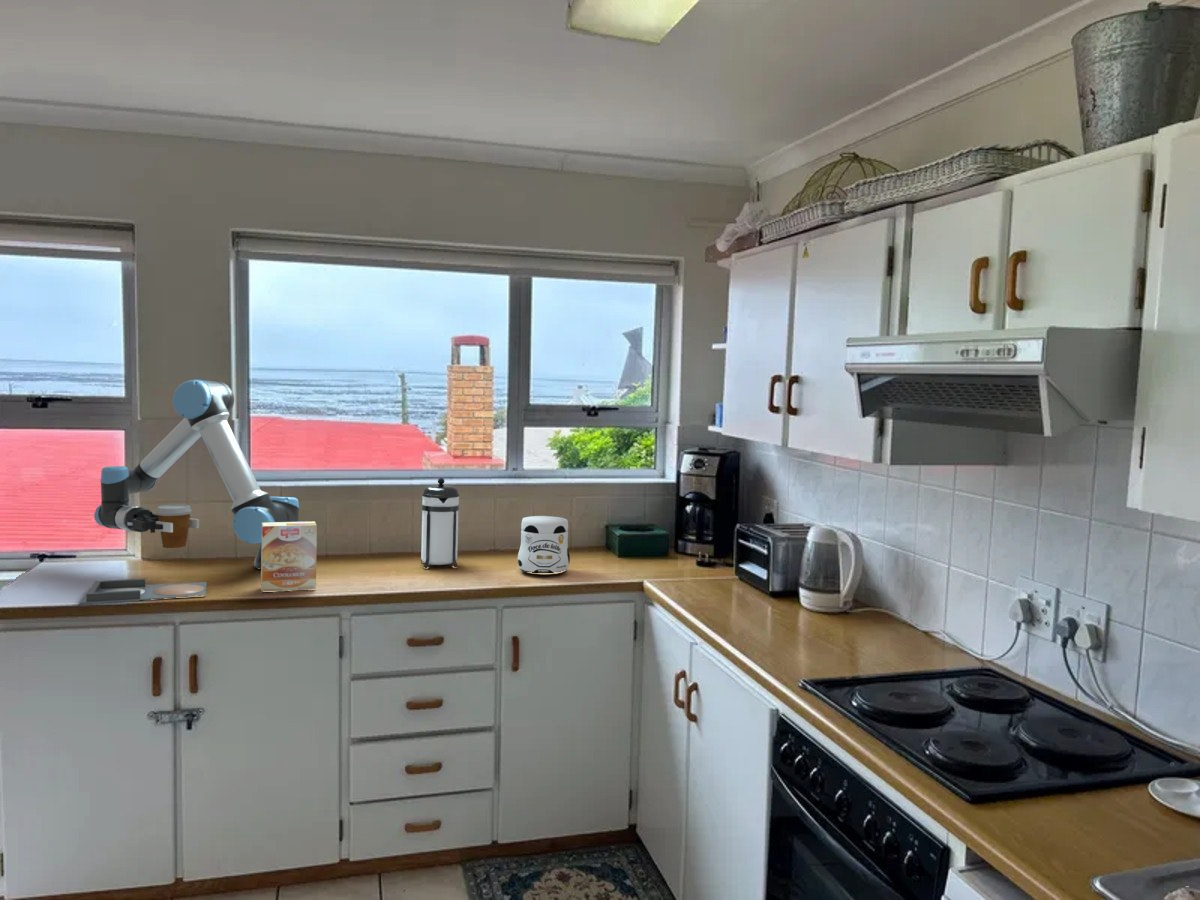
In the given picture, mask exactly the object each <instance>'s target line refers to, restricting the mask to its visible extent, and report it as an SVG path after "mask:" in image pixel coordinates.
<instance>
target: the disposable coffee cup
mask: <svg viewBox="0 0 1200 900" xmlns="http://www.w3.org/2000/svg"><path fill="white" fill-rule="evenodd" d="M192 511H193V510H192V509H191V505H189V504H166V505H160V506H157V510H156V514H157V515H158V518H159V521H161V522H169V523H173V532H171V533H170V532H163V531H160V537H161V542H162V543H161V545H162V548H165V549H179V548H180V549H181V548H184V547H186V546H187V541H188V534H189V519H190V517H191V513H192Z"/></svg>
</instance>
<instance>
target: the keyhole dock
mask: <svg viewBox="0 0 1200 900" xmlns="http://www.w3.org/2000/svg"><path fill="white" fill-rule="evenodd" d="M146 581H147V579H146V578H128V579H108V580H106V579H105V580H95V581H94V582H93V583H92V585H91V587H89V588H88V589H87V591H86V592H85V594H83V597H82V598H81V599H80V601H79V606H82V605H95V604H96V605H97V603H101V604H111V603H110V602H118V603H125V602H124V601H135V602H139V601H138V600H151V599H164V598H176V597H188V596H195V595H198V596H201V595H205V593H206V592H207V587H206V586H207V585H208V582H207V581H200V582H199V581H198V582H197V581H196V582H179V583H178V582H177V583H160V584H146ZM206 594H207V593H206ZM205 596H206V595H205ZM122 601H123V602H122ZM107 602H109V603H107Z"/></svg>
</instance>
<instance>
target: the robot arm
mask: <svg viewBox="0 0 1200 900" xmlns="http://www.w3.org/2000/svg"><path fill="white" fill-rule="evenodd" d="M172 405H173V408H174V410H175V412H176V413H177V414H178V415H179V416H181V417H182V420H181V421H179V423H178V424H177V425H176V426H175V427H174V428H173V429H171V431H170V432H169V433H168V434H167V435H166V436H165V437H164V438H163V439H162V440H161V441H160V442H159V443H158V444H156V446H155V447H154V448H153V449H152V450H151V451H150V452H149V453H148V454H147V455H146V456H145V457H144V458H143V459H142V460H141V461H140V462H139V463H138V464H137V466H135V467H134V468H133V469H130V470H129V468H128V466H125V465H124V466H123V465H113V466H104V467H102V469H101V470H100V473H101V474H100V494H101V496H100V497H101V500H100V501H101V503H100V504H99V505H98V506H97V507H96V509H95V512H94V513H93V518H94V520H95V522H96V524H98V525H99V526H101V527H104V528H108V529H113V530H114V529H117V530H124V531H127V533H132V532H137V533H145V532H147V531H149V530H150V534H152V533H153V534H155V533H156V531H158V532H161V531H163V532H170V533H171V532H173V523H169V522H161V521H159V518H158V515H157V513H153V512H152V510H150V509H149V508H146V507H140V506H134V505H130V495H132V494H137V493H145V492H148V491H151V490H153V489H154V488H153V486H154V485H155V482H156V481H157V479H158V478H159V479H160V478H161V477H162V476H163V475H164V473H166V472H167V471H168V469H170V467H171V466H172V465H174V464H175V463H176V461H178V460H179V459H180V458H181V457H182V456H183V455H184V454H185V452H187V451H188V450H189V449H190V447H192V446H193V445H194V444H195V443H196V442H197V441H198V440H199V439H200V438H202V439H203V442H204V445H205V446H206V448H207V451H208V452H209V455H210V457H211V458H212V461H213V463H214V465H215V467H216V469H217V471H218V473H219V475H220V477H221V479H222V482H223V483H224V485H225V487H226V490H227V491H228V493H229V495H230V497H231V500H232V502H233V503H232V505H231V507H230V509H231V512H232V514H233V516H234V517H233V520H232V527H233V531H234V533H235V535H236V536H237V537H238V539H240V540H241V541H243V542H244V543H248V544H251V545H254V544H255V545H256V544H259V546H258V549H257V552H256V555H255V557H254V561H253V562H254V566H255V567H256V568H260V569H261V547H262V523H267V522H300V520H299V518H300V517H299V516H300V506H299V499H298V498H297V497H292V496H270V495H269V493H268V492H266V491H263V490H261V488H260V486H259V483H258V482H257V479H256V477H255V475H254V473H253V471H252V469H251V467H250V465H249V463H248V461H247V459H246V457H245V455H244V453H243V450H242V449H241V446H240V445H239V442H238V440H237V438H236V437H235V435H234V432H233V430H232V428H231V426H230V424H229V422H228V420H229V417H230V415H231V414H230V412H231V411H232V410H233V407H234V405H235V394H234V392H233V390H232V388H230V386H229V385H228V384H226V383H225V382H223V381H220V380H216V379H214V380H213V379H211V380H209V379H208V380H206V379H197V378H196V379H189V380H187V381H184V382H182V383H180V384H179V385H178V386H177V387H176V389H175V390H174V394H173V395H172ZM152 488H153V489H152ZM150 489H151V490H150ZM189 528H191V529H200V518H199V519H197V518H192V517H191V516H190V519H189V527H188V529H189ZM255 567H254V568H255ZM256 568H255V569H256Z"/></svg>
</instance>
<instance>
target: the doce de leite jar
mask: <svg viewBox="0 0 1200 900" xmlns="http://www.w3.org/2000/svg"><path fill="white" fill-rule="evenodd" d="M520 526H521V529H520V530H521V531H520V547H519V551H518V552H517V565H518V568H519V570H520V571H521V572H523V571H525V572H524V573H526V572H532V573H554V572H561V571H564V570H568V569H569V567H570V561H571V560H570V559H571V557H570V550H569V547H568V546H569V545H568V539H569V521H568V519H567V518H564V517H561V516H560V517H559V516H549V515H548V516H547V515H534V516H533V515H532V516H526V517H522V520H521V524H520Z"/></svg>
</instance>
